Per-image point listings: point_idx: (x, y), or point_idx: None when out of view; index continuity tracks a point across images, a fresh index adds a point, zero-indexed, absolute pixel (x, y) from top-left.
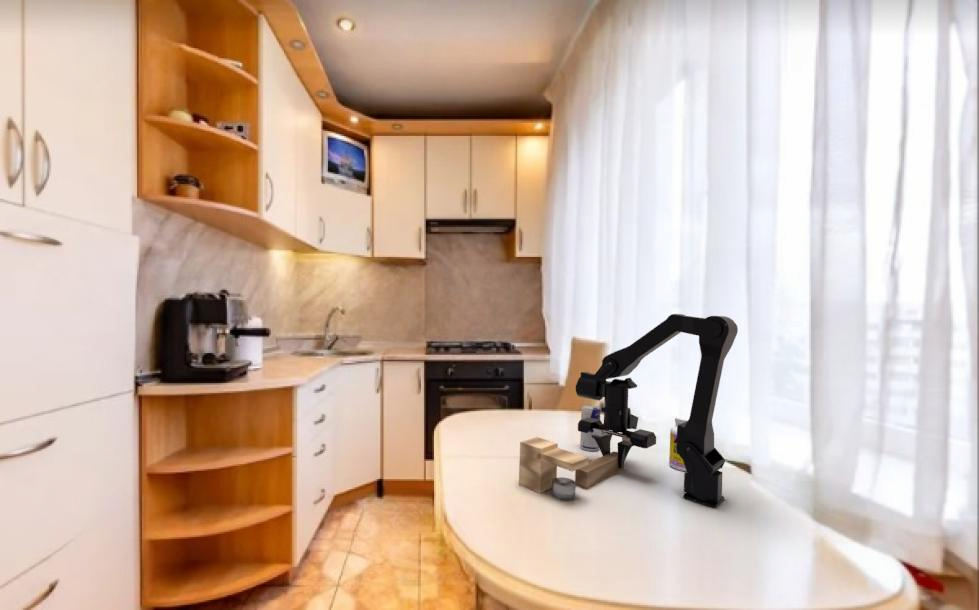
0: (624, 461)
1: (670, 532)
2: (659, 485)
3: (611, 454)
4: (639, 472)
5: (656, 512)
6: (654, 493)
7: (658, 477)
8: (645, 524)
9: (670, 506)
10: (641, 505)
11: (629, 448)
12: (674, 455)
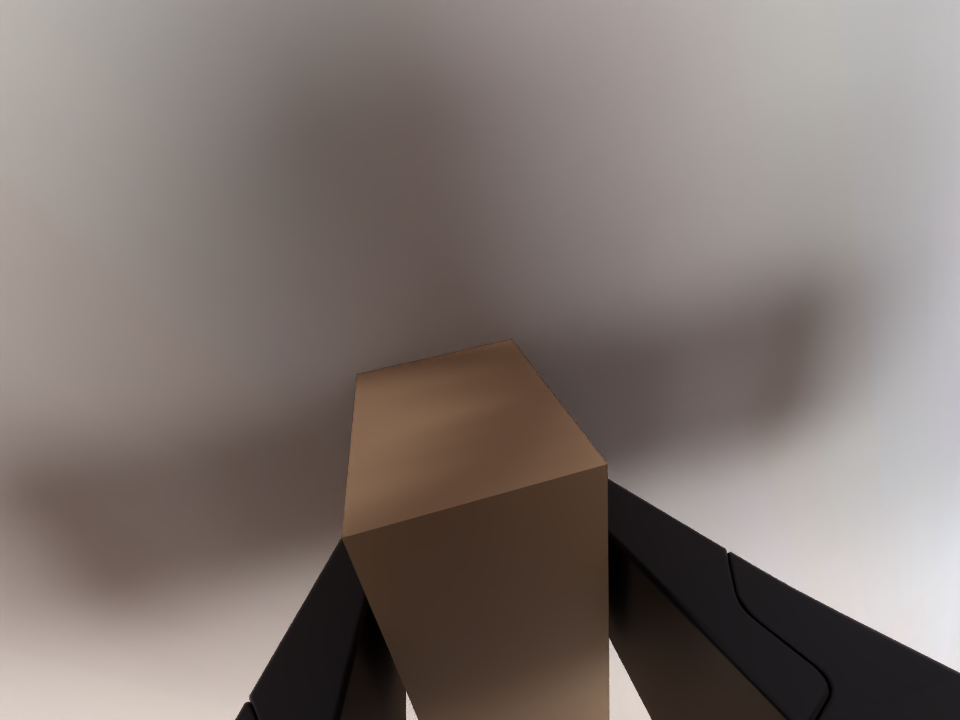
0: (626, 496)
1: (943, 659)
2: (898, 357)
3: (456, 657)
4: (676, 244)
5: (896, 620)
6: (874, 496)
7: (881, 177)
8: None
9: (956, 534)
10: None
11: (939, 709)
12: None
